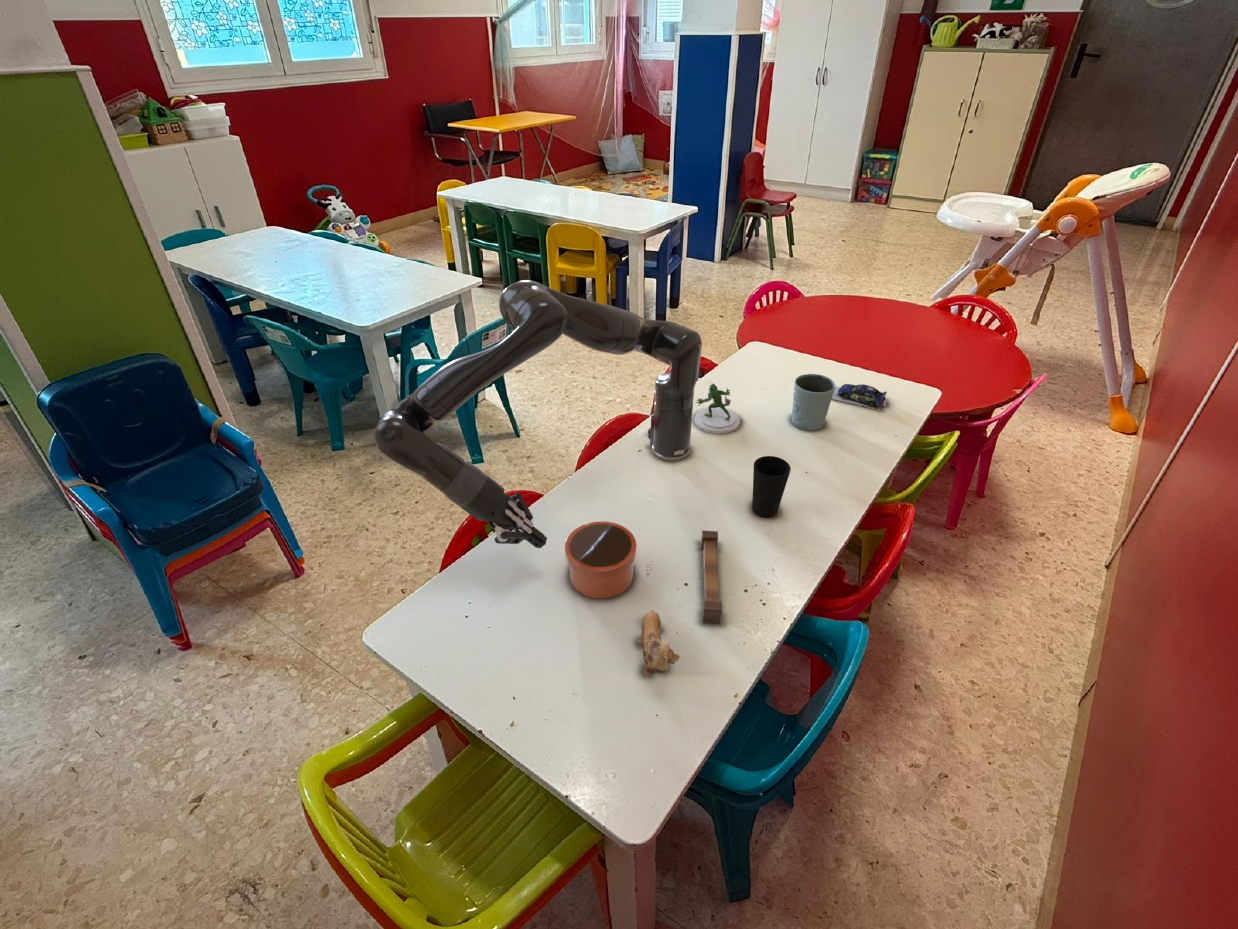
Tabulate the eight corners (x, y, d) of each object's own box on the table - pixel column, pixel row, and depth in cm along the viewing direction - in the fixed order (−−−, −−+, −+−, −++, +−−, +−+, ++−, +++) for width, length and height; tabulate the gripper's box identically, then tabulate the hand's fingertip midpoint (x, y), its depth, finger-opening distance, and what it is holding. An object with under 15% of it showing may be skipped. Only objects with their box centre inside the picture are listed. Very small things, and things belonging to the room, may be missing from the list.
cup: (782, 523, 137) (791, 479, 129) (746, 518, 138) (753, 474, 131) (782, 501, 143) (790, 457, 136) (747, 496, 144) (754, 453, 137)
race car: (828, 398, 179) (831, 384, 177) (833, 388, 184) (837, 374, 181) (883, 411, 174) (888, 397, 171) (887, 400, 178) (891, 386, 176)
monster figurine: (720, 405, 177) (724, 372, 170) (748, 425, 168) (753, 391, 162) (685, 417, 172) (688, 383, 166) (713, 438, 163) (716, 403, 157)
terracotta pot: (562, 598, 120) (559, 568, 115) (572, 548, 131) (570, 519, 126) (633, 603, 119) (634, 572, 114) (638, 552, 130) (638, 522, 125)
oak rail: (720, 624, 115) (722, 610, 112) (702, 622, 115) (704, 608, 113) (716, 544, 131) (717, 531, 129) (700, 543, 131) (702, 530, 129)
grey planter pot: (831, 419, 170) (840, 379, 163) (819, 436, 164) (828, 396, 157) (795, 408, 175) (802, 369, 168) (782, 425, 168) (789, 385, 161)
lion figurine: (679, 687, 104) (683, 652, 99) (648, 693, 103) (650, 659, 98) (655, 618, 116) (657, 584, 110) (627, 624, 115) (627, 589, 109)
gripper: (474, 502, 107) (550, 558, 114) (493, 457, 118) (562, 511, 124) (449, 524, 111) (524, 577, 117) (470, 478, 122) (537, 530, 128)
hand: (543, 543), depth 121 cm, fingers closed
